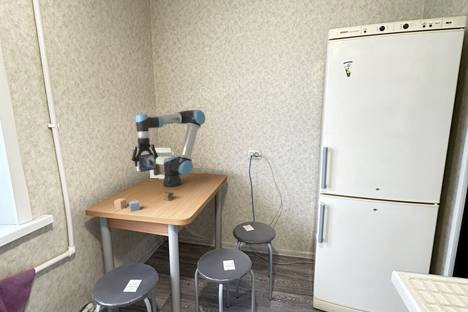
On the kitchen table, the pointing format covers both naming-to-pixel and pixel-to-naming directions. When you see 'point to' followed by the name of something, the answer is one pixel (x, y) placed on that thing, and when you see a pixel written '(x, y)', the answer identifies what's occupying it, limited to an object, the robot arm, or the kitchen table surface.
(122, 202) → the terracotta block
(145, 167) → the small box
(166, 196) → the walnut block
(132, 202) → the slate block
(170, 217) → the kitchen table surface
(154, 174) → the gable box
